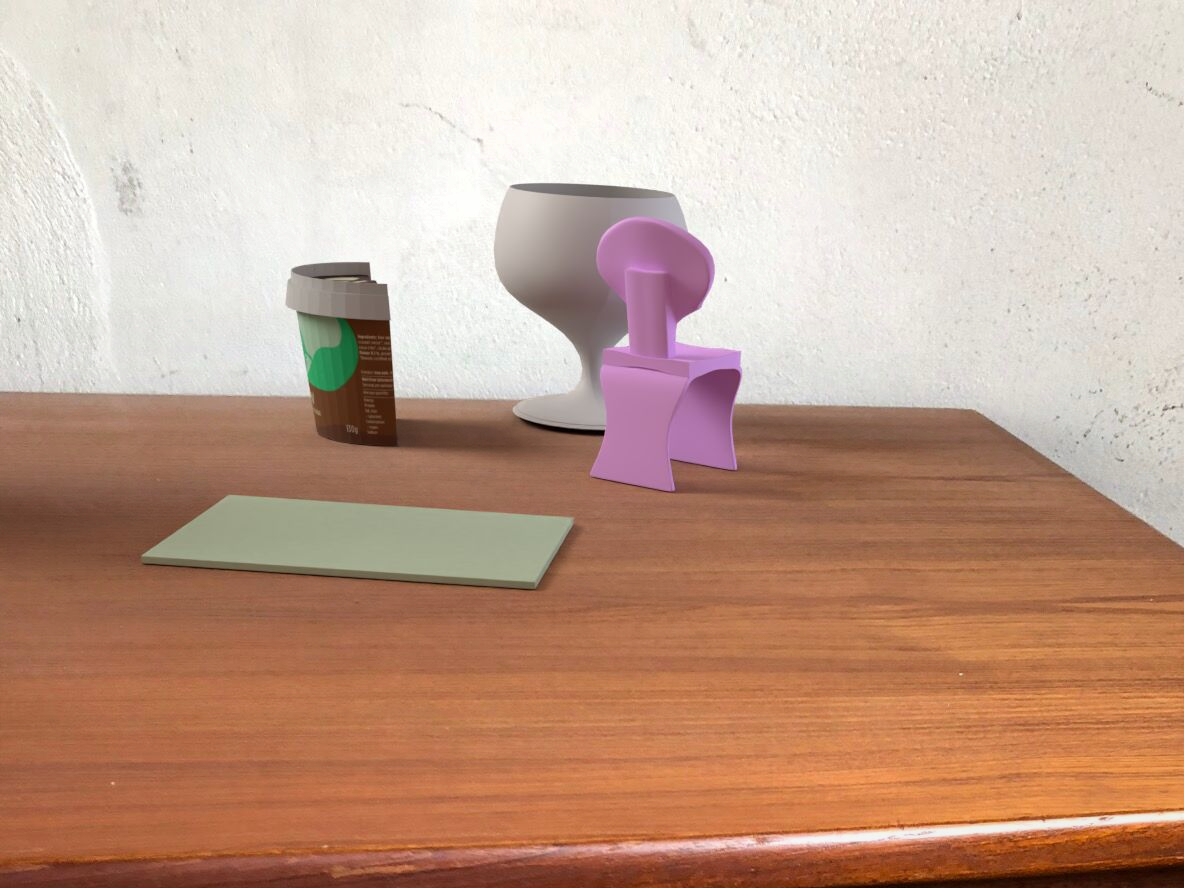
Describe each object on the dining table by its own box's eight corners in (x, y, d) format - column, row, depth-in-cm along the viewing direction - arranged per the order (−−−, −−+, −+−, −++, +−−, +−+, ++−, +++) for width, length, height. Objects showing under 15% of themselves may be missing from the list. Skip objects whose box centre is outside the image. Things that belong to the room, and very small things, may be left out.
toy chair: (754, 471, 101) (766, 218, 93) (685, 494, 94) (692, 225, 86) (649, 451, 104) (652, 206, 96) (576, 473, 97) (573, 212, 89)
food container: (293, 413, 108) (276, 259, 103) (381, 413, 110) (368, 261, 105) (304, 451, 99) (286, 283, 93) (400, 450, 100) (388, 284, 95)
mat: (141, 563, 76) (140, 555, 76) (229, 501, 87) (228, 494, 87) (535, 589, 76) (535, 581, 76) (573, 524, 87) (573, 517, 87)
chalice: (703, 439, 109) (710, 203, 101) (508, 437, 106) (499, 194, 97) (670, 401, 120) (673, 186, 112) (492, 398, 117) (483, 178, 109)
